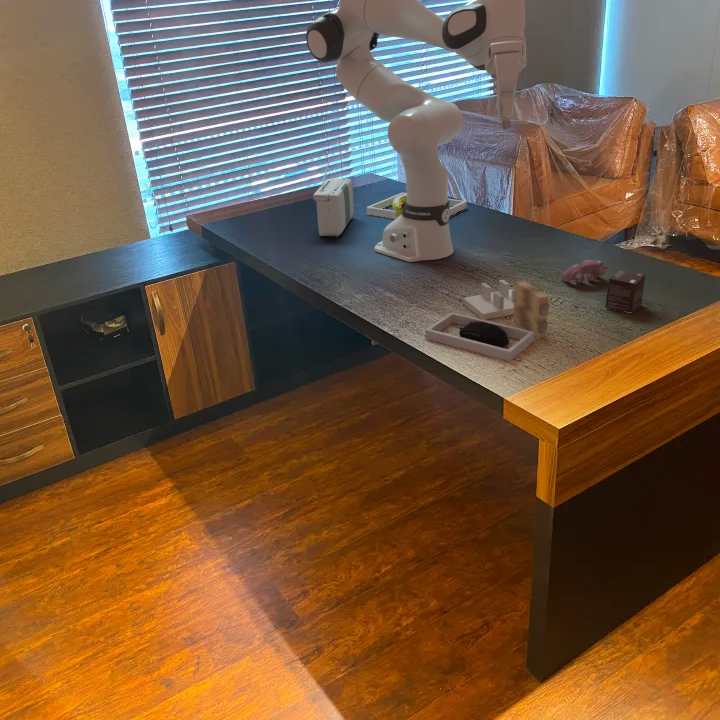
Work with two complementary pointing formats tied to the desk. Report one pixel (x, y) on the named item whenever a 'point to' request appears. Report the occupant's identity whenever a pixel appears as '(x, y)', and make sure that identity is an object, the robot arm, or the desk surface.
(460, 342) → the mouse tray
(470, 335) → the gaming mouse
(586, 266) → the video game controller
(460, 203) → the white rectangular tray
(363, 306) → the desk surface
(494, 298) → the white slotted stand
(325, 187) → the stereo radio cassette player
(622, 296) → the box
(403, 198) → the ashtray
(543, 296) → the tan upright panel
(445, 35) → the robot arm
